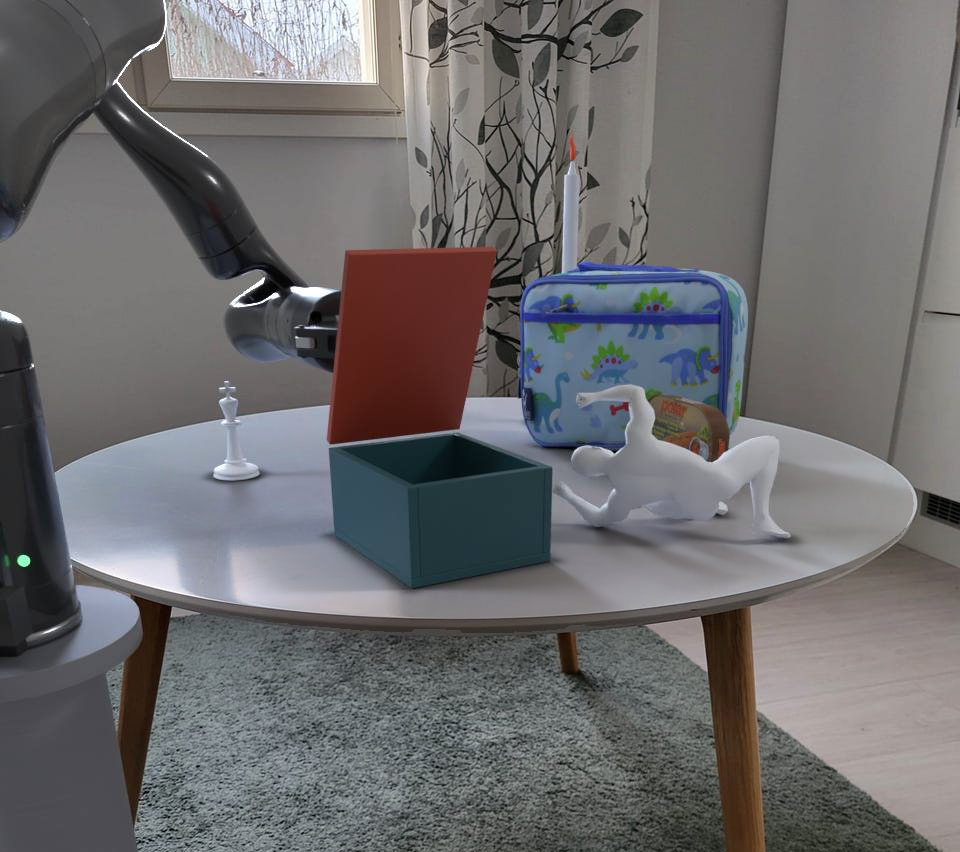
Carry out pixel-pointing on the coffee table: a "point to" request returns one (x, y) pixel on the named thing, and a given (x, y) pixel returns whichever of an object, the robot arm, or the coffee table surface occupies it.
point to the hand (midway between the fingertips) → (403, 348)
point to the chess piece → (233, 443)
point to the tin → (690, 425)
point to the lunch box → (626, 346)
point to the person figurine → (671, 472)
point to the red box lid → (406, 340)
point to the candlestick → (570, 214)
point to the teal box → (441, 507)
